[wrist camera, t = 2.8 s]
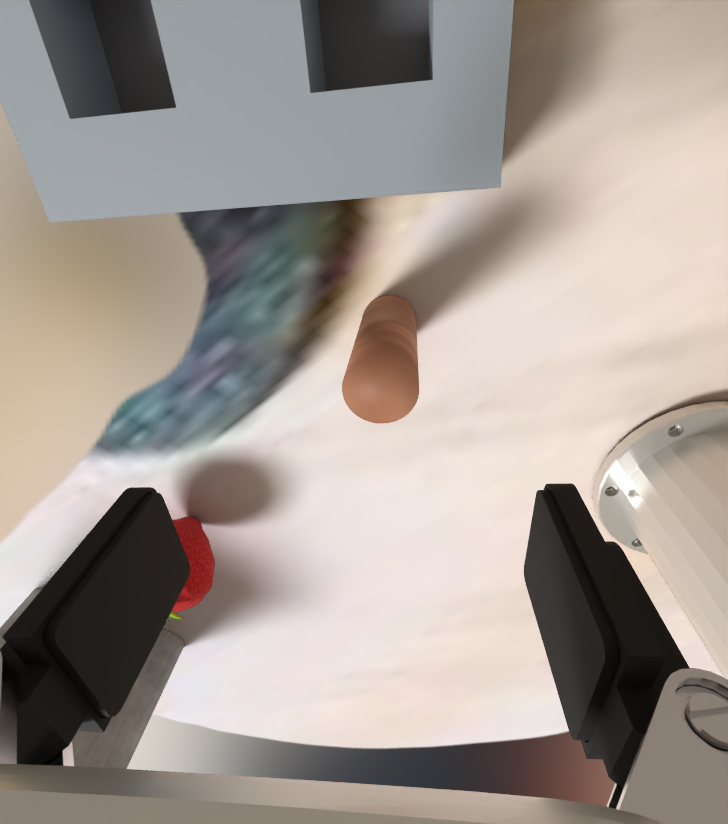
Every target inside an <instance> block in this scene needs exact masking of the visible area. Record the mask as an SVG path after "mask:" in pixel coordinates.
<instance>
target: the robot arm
mask: <svg viewBox="0 0 728 824" xmlns="http://www.w3.org/2000/svg"><path fill="white" fill-rule="evenodd" d="M593 502H594V507H595V511H596V513H597V515H598V517H599V519H600V521H601V523H602V525H603V526H604V528H605V529H606V530H607V532H608V533H609V534H610V535H611V536H612V537H613V538H614V539H616V540H617V541H618V542H619V543H621V544H623V545H624V546H626V547H628V548H630V549H632V550H635V551H638V552H642V553H645V554H648V555H649V556H650V558H651V559H652V561H653V563H654V564H655V566H656V568H657V569H658V571H659V572H660V574H661V576H662V577H663V579H664V581H665V582H666V584H667V585H668V587H669V589H670V590H671V592H672V594H673V595H674V597H675V598H676V600H677V602H678V603H679V605H680V607H681V608H682V610H683V611H684V613H685V615H686V616H687V618H688V620H689V621H690V623H691V624H692V626H693V628H694V629H695V631H696V633H697V634H698V636H699V637H700V639H701V641H702V642H703V644H704V646H705V647H706V649H707V650H708V652H709V654H710V655H711V657H712V659H713V660H714V662H715V664H716V665H717V667H718V668H719V670H720V672H721V673H722V675H723V677H724V678H723V677H721V676H719V675H717V674H715V673H712V672H710V671H705V670H701V669H696V668H689V666H688V664H687V663H686V661H685V659H684V657H683V656H682V654H681V652H680V650H679V649H678V647H677V645H676V643H675V641H674V640H673V638H672V636H671V634H670V633H669V631H668V629H667V627H666V626H665V624H664V622H663V620H662V619H661V617H660V615H659V613H658V612H657V610H656V608H655V606H654V605H653V603H652V601H651V599H650V597H649V596H648V594H647V592H646V590H645V589H644V587H643V585H642V583H641V582H640V580H639V578H638V576H637V575H636V573H635V571H634V569H633V568H632V566H631V564H630V562H629V561H628V559H627V557H626V555H625V553H624V552H623V550H622V549H621V547H620V546H619V545H618V544H617V543H615V542H605V541H604V539H603V537H602V535H601V533H600V532H599V530H598V528H597V526H596V524H595V522H594V520H593V519H592V517H591V515H590V513H589V511H588V509H587V507H586V505H585V504H584V502H583V500H582V498H581V496H580V494H579V492H578V490H577V489H576V487H575V486H574V485H573V484H546V486H545V488H544V490H538V491H537V493H536V499H535V505H534V511H533V517H532V523H531V529H530V535H529V541H528V547H527V553H526V559H525V565H524V577H525V582H526V586H527V589H528V593H529V596H530V599H531V603H532V606H533V610H534V613H535V616H536V620H537V623H538V627H539V630H540V633H541V637H542V640H543V643H544V647H545V650H546V654H547V657H548V660H549V664H550V667H551V671H552V674H553V677H554V681H555V684H556V688H557V691H558V694H559V698H560V701H561V705H562V708H563V711H564V715H565V718H566V722H567V725H568V728H569V731H570V733H571V736H572V738H573V739H575V740H581V742H582V745H583V748H584V751H585V755H586V758H587V759H603V761H604V764H605V767H606V770H607V773H608V776H609V777H610V778H611V779H612V780H613V781H614V782H615V786H614V788H613V791H612V794H611V796H610V799H609V802H608V804H607V807H605V806H601V805H593V804H587V803H580V802H573V801H566V800H559V799H550V798H539V797H528V796H516V795H504V794H493V793H483V792H471V791H458V790H444V789H443V790H442V789H429V788H414V787H399V786H384V785H371V784H355V783H341V782H326V781H310V780H295V779H279V778H264V777H263V778H262V777H248V776H231V775H215V774H198V773H183V772H166V771H165V772H164V771H148V770H131V769H114V768H96V767H79V766H74V758H73V748H72V740H73V738H74V736H75V734H76V733H77V731H78V729H80V731H88V732H104V731H105V729H106V728H107V726H108V724H109V722H110V720H111V718H112V717H114V716H115V715H117V714H118V713H119V712H120V710H121V709H122V707H123V705H124V703H125V701H126V699H127V697H128V695H129V693H130V691H131V690H132V688H133V686H134V684H135V682H136V680H137V678H138V676H139V674H140V672H141V670H142V668H143V666H144V664H145V662H146V660H147V658H148V656H149V654H150V652H151V650H152V648H153V646H154V644H155V642H156V641H157V639H158V637H159V635H160V633H161V631H162V629H163V627H164V625H165V623H166V621H167V619H168V617H169V615H170V613H171V611H172V609H173V607H174V605H175V603H176V601H177V599H178V597H179V595H180V593H181V592H182V590H183V588H184V586H185V584H186V582H187V580H188V577H189V574H190V563H189V560H188V558H187V555H186V553H185V550H184V548H183V546H182V543H181V541H180V538H179V536H178V533H177V531H176V528H175V526H174V524H173V521H172V519H171V516H170V514H169V511H168V509H167V506H166V504H165V502H164V499H163V497H162V495H161V494H160V493H157V492H156V490H155V489H153V488H128V489H126V490H125V491H124V492H123V493H122V494H121V496H120V497H119V498H118V499H117V500H116V502H115V503H114V504H113V505H112V506H111V508H110V509H109V510H108V511H107V512H106V514H105V515H104V516H103V517H102V518H101V520H100V521H99V522H98V523H97V524H96V525H95V527H94V528H93V529H92V530H91V531H90V533H89V534H88V535H87V536H86V537H85V539H84V540H83V541H82V542H81V543H80V545H79V546H78V547H77V548H76V549H75V551H74V552H73V553H72V554H71V555H70V557H69V558H68V559H67V560H66V561H65V562H64V564H63V565H62V566H61V567H60V568H59V570H58V571H57V572H56V573H55V574H54V576H53V577H52V578H51V579H50V580H49V582H48V583H47V584H46V585H45V586H44V588H43V589H42V590H41V591H40V592H39V593H38V595H37V596H36V597H35V598H34V599H33V601H32V602H31V603H30V604H29V605H28V607H27V608H26V609H25V610H24V611H23V613H22V614H21V615H20V616H19V617H18V619H17V620H16V621H15V622H14V623H13V624H12V626H11V627H10V628H9V629H8V630H7V632H6V633H5V634H4V635H3V636H2V637H3V639H4V640H5V641H6V643H5V644H4V645H3V646H2V647H1V649H0V824H728V401H716V402H708V403H702V404H696V405H690V406H687V407H684V408H681V409H677V410H674V411H671V412H668V413H666V414H664V415H662V416H660V417H657V418H655V419H653V420H651V421H649V422H647V423H646V424H644V425H643V426H641V427H639V428H638V429H636V430H635V431H633V432H632V433H630V434H629V435H628V436H627V437H626V438H625V439H623V440H622V441H621V442H620V443H619V444H618V445H617V446H616V447H615V448H614V449H613V450H612V452H611V453H610V454H609V455H608V456H607V457H606V459H605V460H604V462H603V464H602V466H601V468H600V469H599V471H598V473H597V476H596V480H595V483H594V486H593Z"/></svg>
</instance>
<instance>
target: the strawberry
mask: <svg viewBox="0 0 728 824" xmlns="http://www.w3.org/2000/svg"><path fill="white" fill-rule="evenodd" d="M172 521H173V524H174V526H175V528H176V531H177V533H178V536H179V538H180V541H181V543H182V546H183V548H184V550H185V553H186V555H187V558H188V560H189V563H190V574H189V577H188V580H187V582H186V584H185V586H184V588H183V590H182V592H181V593H180V595H179V597H178V599H177V601H176V603H175V605H174V607H173V609H172V611H171V613H170V615H169V617H170V618H175V619H180V620H181V619H182V617H180V616H179V615H177V614H175V613H173V612H179V611H183V610H185V609H188V608H191V607H193V606H195V605H197V604H198V603H199V602H200V601H201V600H202V599H203V598H204V596H205V595H206V594H207V593H208V591H209V590H210V588H211V586H212V581H213V573H214V566H215V561H214V557H213V554H212V550H211V547H210V544H209V541H208V538H207V537H206V535H205V533H204V531H203V529H202V526H201V523H200V522H199V521H198V520H197V519H196V518H193V517H184V518H181V519H177V520H172ZM167 621H168V619H167Z"/></svg>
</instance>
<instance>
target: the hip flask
mask: <svg viewBox="0 0 728 824" xmlns="http://www.w3.org/2000/svg"><path fill="white" fill-rule="evenodd" d="M41 590H42V589H35V590H34V591H33V592H32V593H31V594H30V595H29V596H28V597H27V598H26V599H25V601H24V602H23V603H22V604H21V605H20V606H19V607H18V609H17V610H16V611H15V612H14V613H13V614H12V615H11V616H10V618H9V619H8V620H7V621H6V622H5V623H4V624H3V626H2V627H1V628H0V649H1V647H2V646H3V645H4V644H5V643H6V641H5V640H4V639H3V637H2V636H3V635H4V634H5V633H6V632H7V630H8V629H9V628H10V627H11V626H12V624H13V623H14V622H15V621H16V620H17V619H18V617H19V616H20V615H21V614H22V613H23V611H24V610H25V609H26V608H27V607H28V605H29V604H30V603H31V602H32V601H33V599H34V598H35V597H36V596H37V595H38V593H39V592H40V591H41ZM183 647H184V641H183V640H182V639H181V638H180V637H179V636H178V635H176V634H174V633H172V632H169V631H167V630H165V629H162V631H161V633H160V635H159V637H158V639H157V641H156V642H155V644H154V646H153V648H152V650H151V652H150V654H149V656H148V658H147V660H146V662H145V664H144V666H143V668H142V670H141V672H140V674H139V676H138V678H137V680H136V682H135V684H134V686H133V688H132V690H131V691H130V693H129V695H128V697H127V699H126V701H125V703H124V705H123V707H122V709H121V710H120V712H119V713H118V714H117V715H115V716H114V717H112V718H111V720H110V722H109V724H108V726H107V728H106V729H105V731H104V732H88V731H80V729H78V731H77V733H76V734H75V736H74V738H73V740H72V748H73V758H74V766H79V767H96V768H114V769H127V766H128V764H129V762H130V760H131V758H132V756H133V754H134V751H135V749H136V747H137V745H138V743H139V741H140V739H141V737H142V734H143V732H144V730H145V728H146V726H147V724H148V722H149V719H150V717H151V715H152V713H153V711H154V709H155V707H156V705H157V702H158V700H159V698H160V696H161V694H162V692H163V690H164V688H165V685H166V683H167V681H168V679H169V677H170V675H171V673H172V670H173V668H174V666H175V664H176V662H177V660H178V658H179V656H180V653H181V651H182V649H183Z"/></svg>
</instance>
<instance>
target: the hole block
mask: <svg viewBox="0 0 728 824" xmlns="http://www.w3.org/2000/svg"><path fill="white" fill-rule="evenodd" d="M513 9H514V0H0V101H1V103H2V106H3V109H4V111H5V113H6V116H7V118H8V121H9V123H10V126H11V128H12V131H13V133H14V136H15V138H16V141H17V143H18V146H19V148H20V151H21V153H22V155H23V158H24V161H25V163H26V165H27V168H28V170H29V173H30V175H31V178H32V180H33V183H34V185H35V188H36V190H37V192H38V195H39V198H40V200H41V202H42V205H43V208H44V210H45V212H46V215H47V217H48V220H49V222H50V223H51V222H63V221H76V220H89V219H101V218H114V217H128V216H139V215H153V214H165V213H179V212H192V211H204V210H217V209H230V208H243V207H256V206H269V205H281V204H294V203H307V202H320V201H333V200H346V199H358V198H371V197H384V196H397V195H410V194H422V193H435V192H448V191H461V190H474V189H487V188H499V187H500V185H501V171H502V158H503V144H504V131H505V117H506V104H507V90H508V77H509V63H510V49H511V36H512V22H513Z"/></svg>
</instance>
